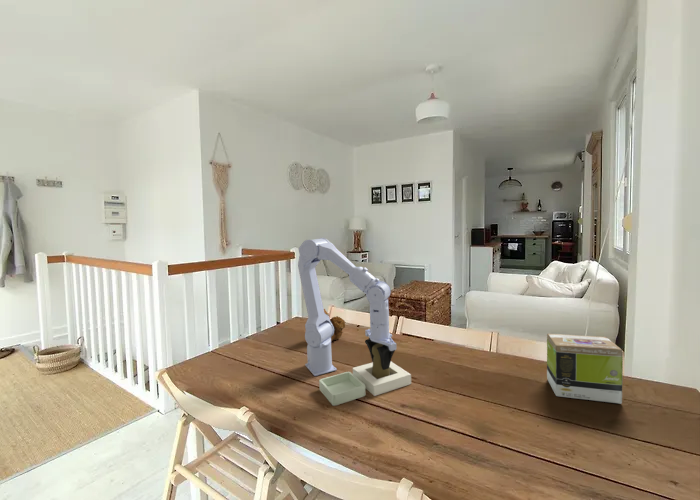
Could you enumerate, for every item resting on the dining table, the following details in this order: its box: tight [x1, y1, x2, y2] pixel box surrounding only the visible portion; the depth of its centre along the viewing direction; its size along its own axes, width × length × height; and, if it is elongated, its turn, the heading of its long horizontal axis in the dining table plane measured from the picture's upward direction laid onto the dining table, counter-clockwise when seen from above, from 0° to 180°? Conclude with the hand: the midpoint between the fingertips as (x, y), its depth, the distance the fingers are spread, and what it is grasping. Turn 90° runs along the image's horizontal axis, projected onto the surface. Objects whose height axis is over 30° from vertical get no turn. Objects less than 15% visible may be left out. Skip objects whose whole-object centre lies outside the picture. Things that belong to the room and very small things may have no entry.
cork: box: [372, 343, 390, 379], centre depth 99 cm, size 6×6×11 cm
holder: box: [352, 361, 412, 397], centre depth 100 cm, size 13×13×3 cm
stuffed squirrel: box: [324, 308, 346, 342], centre depth 135 cm, size 10×14×13 cm
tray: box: [318, 371, 366, 407], centre depth 94 cm, size 10×10×3 cm
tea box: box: [546, 333, 624, 405], centre depth 89 cm, size 15×10×15 cm
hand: (380, 365), depth 99 cm, fingers closed on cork, 5 cm apart
